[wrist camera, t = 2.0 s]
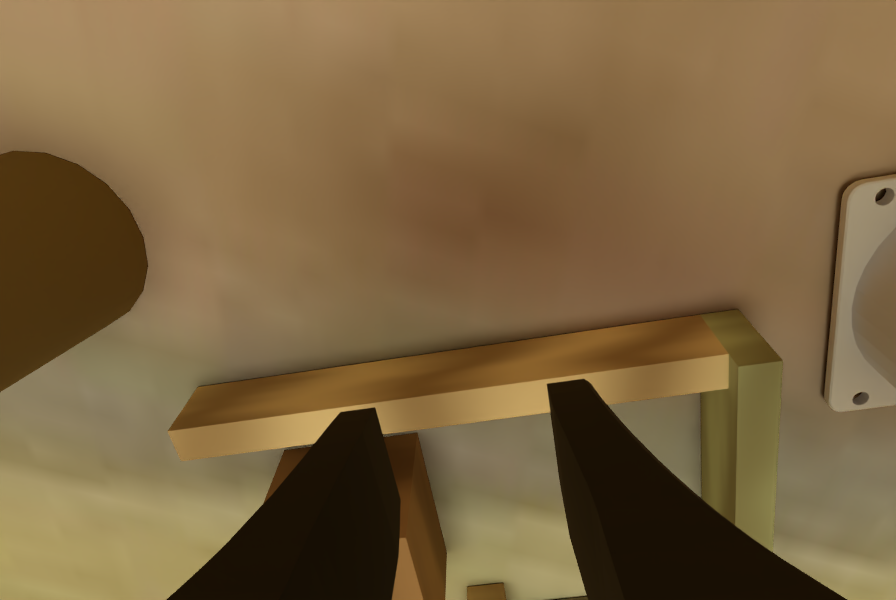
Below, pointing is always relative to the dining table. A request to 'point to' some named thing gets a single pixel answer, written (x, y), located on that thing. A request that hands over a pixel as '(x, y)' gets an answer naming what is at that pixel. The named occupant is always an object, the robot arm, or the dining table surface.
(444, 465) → the dining table surface
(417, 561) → the walnut block
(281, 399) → the trap lane
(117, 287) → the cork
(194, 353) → the dining table surface
